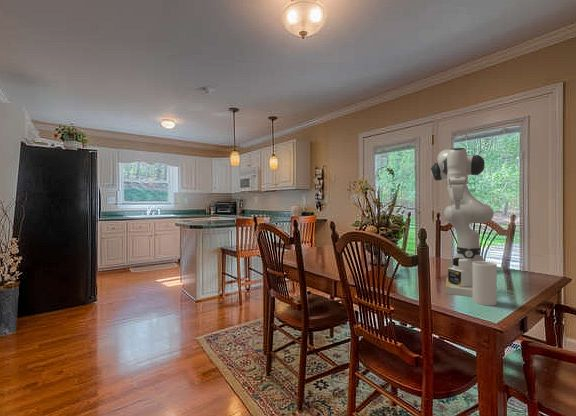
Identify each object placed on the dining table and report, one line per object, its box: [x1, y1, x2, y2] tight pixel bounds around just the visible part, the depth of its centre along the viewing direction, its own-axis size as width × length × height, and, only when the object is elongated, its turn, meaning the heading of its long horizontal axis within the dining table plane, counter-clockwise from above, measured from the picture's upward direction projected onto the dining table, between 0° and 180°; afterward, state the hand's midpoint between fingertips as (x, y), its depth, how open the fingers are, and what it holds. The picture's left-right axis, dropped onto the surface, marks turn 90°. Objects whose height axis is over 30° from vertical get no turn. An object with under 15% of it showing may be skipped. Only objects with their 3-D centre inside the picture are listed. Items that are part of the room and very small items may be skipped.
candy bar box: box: [381, 252, 394, 277], centre depth 168 cm, size 11×5×16 cm, turn 168°
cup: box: [472, 260, 498, 307], centre depth 123 cm, size 8×8×16 cm
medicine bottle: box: [447, 257, 473, 287], centre depth 138 cm, size 7×7×12 cm
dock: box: [445, 276, 473, 298], centre depth 140 cm, size 18×12×3 cm, turn 152°
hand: (457, 209), depth 147 cm, fingers open, 8 cm apart
